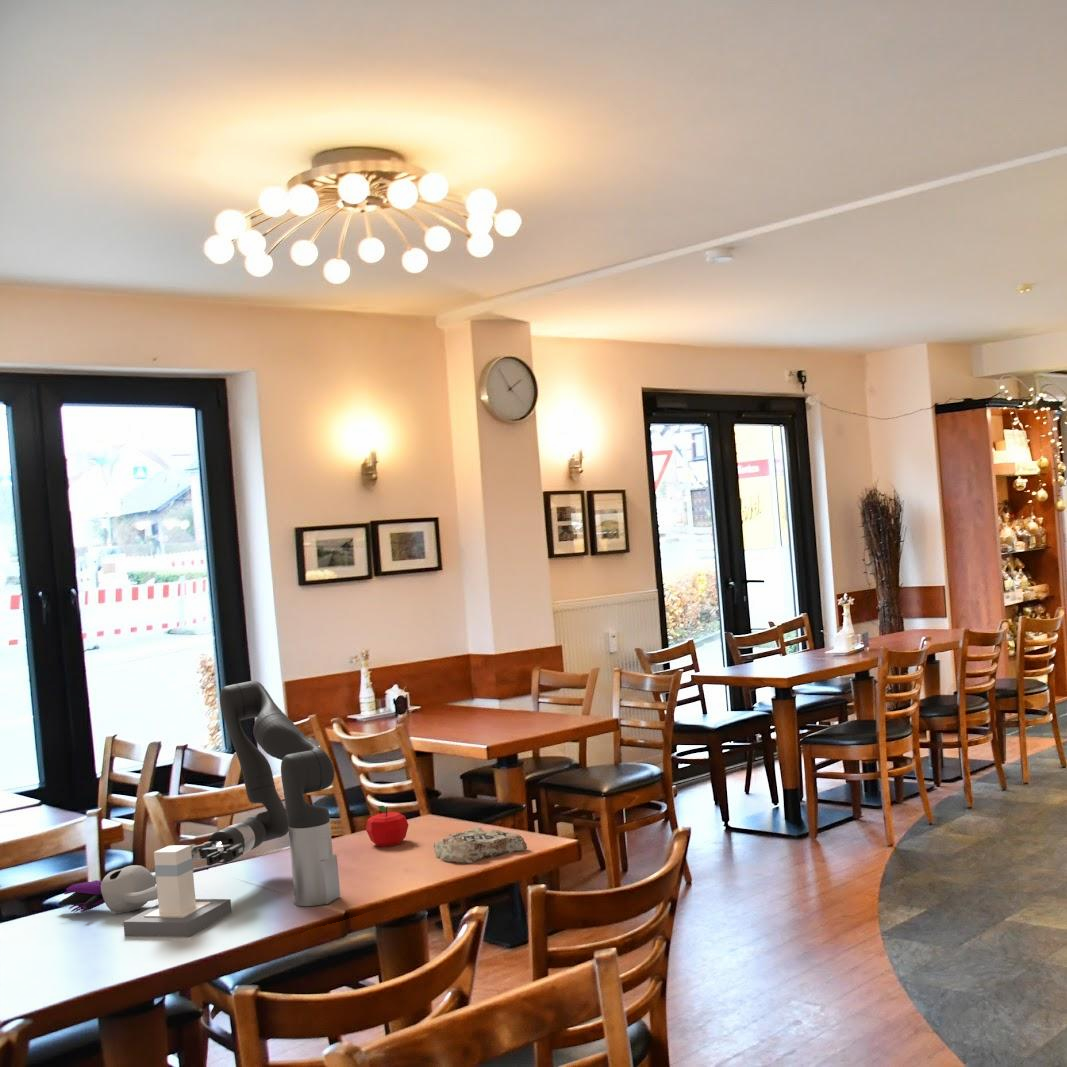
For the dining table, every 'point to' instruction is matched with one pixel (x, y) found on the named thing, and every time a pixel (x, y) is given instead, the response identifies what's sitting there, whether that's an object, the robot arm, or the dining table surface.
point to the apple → (387, 828)
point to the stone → (477, 845)
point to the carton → (174, 878)
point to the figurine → (115, 891)
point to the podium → (178, 919)
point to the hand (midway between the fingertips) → (191, 861)
